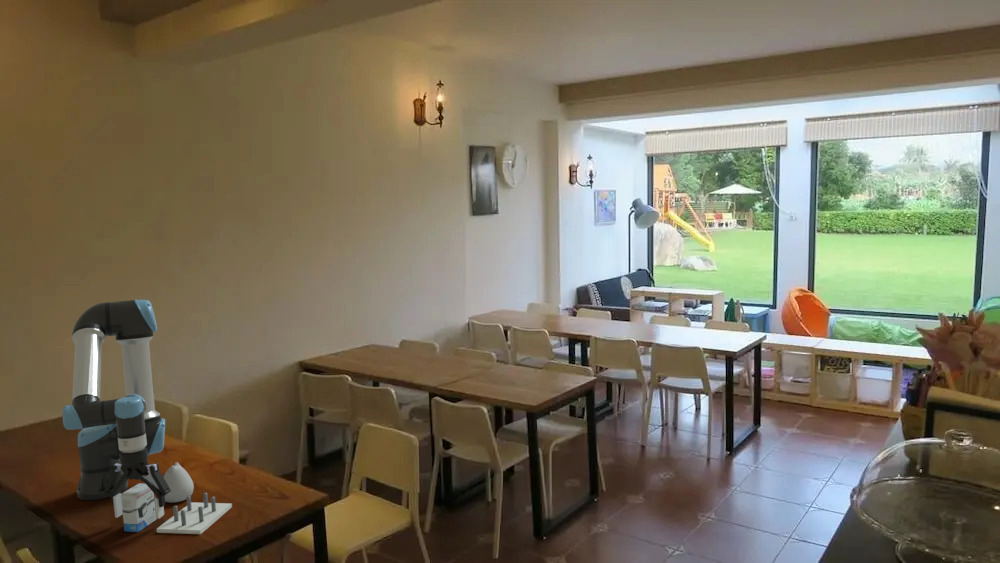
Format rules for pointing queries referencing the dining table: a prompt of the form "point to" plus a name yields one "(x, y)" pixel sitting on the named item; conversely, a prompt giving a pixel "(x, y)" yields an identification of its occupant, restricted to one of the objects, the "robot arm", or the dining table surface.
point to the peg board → (194, 516)
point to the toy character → (178, 484)
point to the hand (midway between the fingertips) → (139, 516)
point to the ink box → (138, 508)
